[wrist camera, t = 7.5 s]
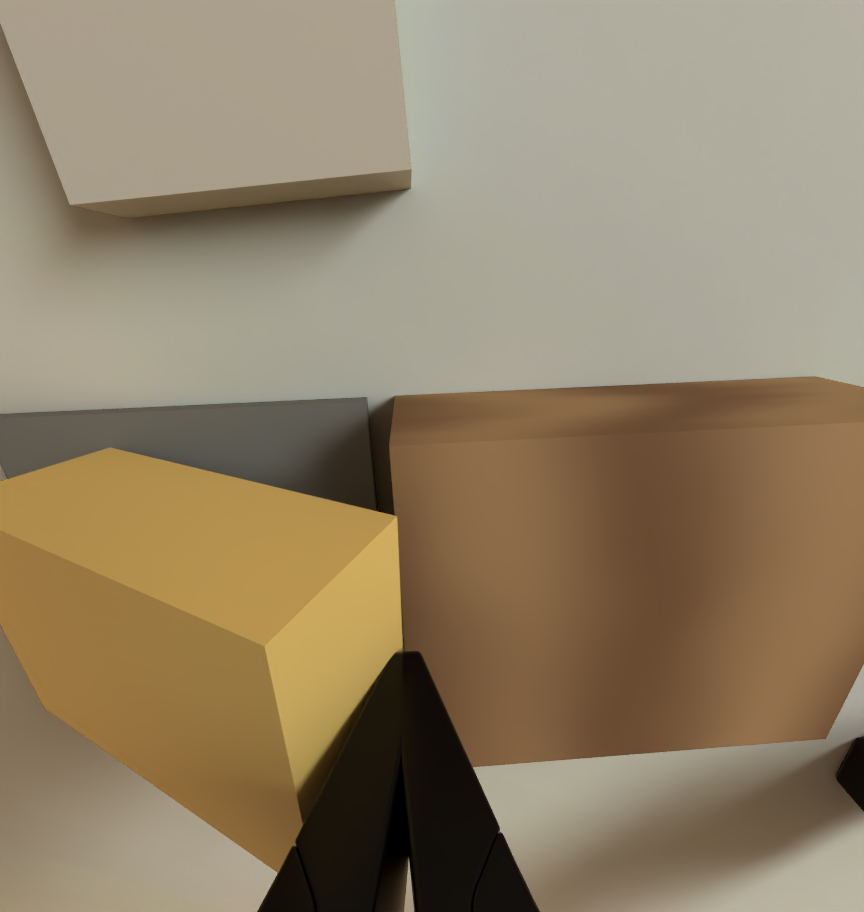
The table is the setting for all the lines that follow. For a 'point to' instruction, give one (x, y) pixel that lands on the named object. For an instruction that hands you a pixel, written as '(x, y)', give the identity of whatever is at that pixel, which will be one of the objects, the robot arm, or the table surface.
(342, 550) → the yellow block
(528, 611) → the block
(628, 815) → the table surface
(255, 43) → the beige tile
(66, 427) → the mat
